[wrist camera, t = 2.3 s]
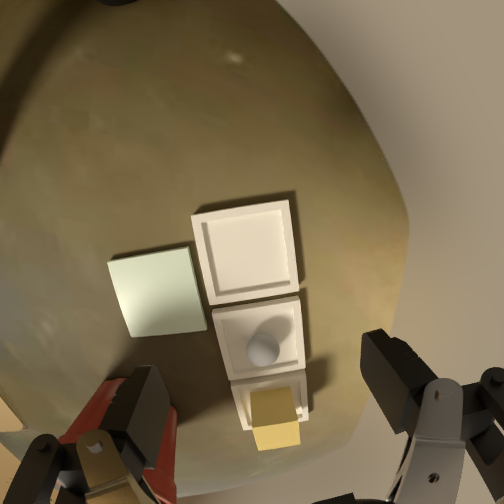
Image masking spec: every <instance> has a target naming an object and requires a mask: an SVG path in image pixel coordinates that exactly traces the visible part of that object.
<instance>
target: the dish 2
mask: <svg viewBox="0 0 504 504" xmlns="http://www.w3.org/2000/svg"><path fill="white" fill-rule="evenodd" d="M212 317H213V321H214V326H215V330H216V334H217V338H218V342H219V346H220V349H221V353H222V357H223V361H224V365H225V368H226V372H227V376H228V379H229V380H236V379H244V378H251V377H258V376H265V375H271V374H277V373H283V372H288V371H294V370H299V369H304V368H306V366H305V352H304V339H303V327H302V315H301V305H300V299H299V297H298V295H297V296H291V297H286V298H280V299H274V300H268V301H262V302H256V303H250V304H243V305H237V306H230V307H223V308H216V309H213V310H212ZM258 334H268V335H271V336H272V337H274V338H275V339H276V340H277V342H278V344H279V347H280V354H279V357H278V358H277V360H276V361H275V362H274V363H273V364H271V365H269V366H265V367H261V366H257V365H255V364H253V363H252V362H251V361H250V360H249V359H248V357H247V354H246V346H247V343H248V342H249V340H250V339H251V338H252V337H254V336H255V335H258Z"/></svg>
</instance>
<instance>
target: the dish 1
mask: <svg viewBox="0 0 504 504" xmlns="http://www.w3.org/2000/svg"><path fill="white" fill-rule="evenodd" d="M191 219H192V224H193V230H194V235H195V240H196V245H197V250H198V255H199V260H200V264H201V269H202V274H203V278H204V283H205V287H206V292H207V296H208V300H209V305H216V304H223V303H229V302H236V301H243V300H249V299H255V298H261V297H268V296H273V295H279V294H285V293H291V292H296V291H299V284H298V275H297V266H296V257H295V248H294V240H293V232H292V224H291V216H290V209H289V201H288V200H287V199H284V200H277V201H270V202H263V203H257V204H250V205H244V206H238V207H232V208H226V209H220V210H214V211H209V212H203V213H197V214H193V215H191Z"/></svg>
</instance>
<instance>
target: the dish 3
mask: <svg viewBox="0 0 504 504" xmlns="http://www.w3.org/2000/svg"><path fill="white" fill-rule="evenodd" d="M288 386H290V388H291V393H292V397H293V401H294V405H295V409H296V413H297V417H298V422H301V421H306V420H308V399H307V382H306V373H305V370H304V369H299V370H294V371H288V372H283V373H277V374H271V375H265V376H258V377H251V378H244V379H236V380H231V390H232V393H233V397H234V400H235V404H236V407H237V411H238V414H239V417H240V421H241V424H242V427H243V430H251V429H252V420H251V405H250V392H257V391H264V390H270V389H276V388H282V387H288Z"/></svg>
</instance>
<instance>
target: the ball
mask: <svg viewBox="0 0 504 504" xmlns="http://www.w3.org/2000/svg"><path fill="white" fill-rule="evenodd" d="M246 354H247V357H248V359H249V360H250V361H251V362H252V363H253V364H255V365H257V366H261V367H265V366H269V365H271V364H273V363H274V362H275V361H276V360H277V358H278V357H279V354H280V347H279V344H278V342H277V340H276V339H275V338H274V337H272V336H271V335H268V334H258V335H255V336H254V337H252V338H251V339H250V340H249V342H248V343H247V346H246Z"/></svg>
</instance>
